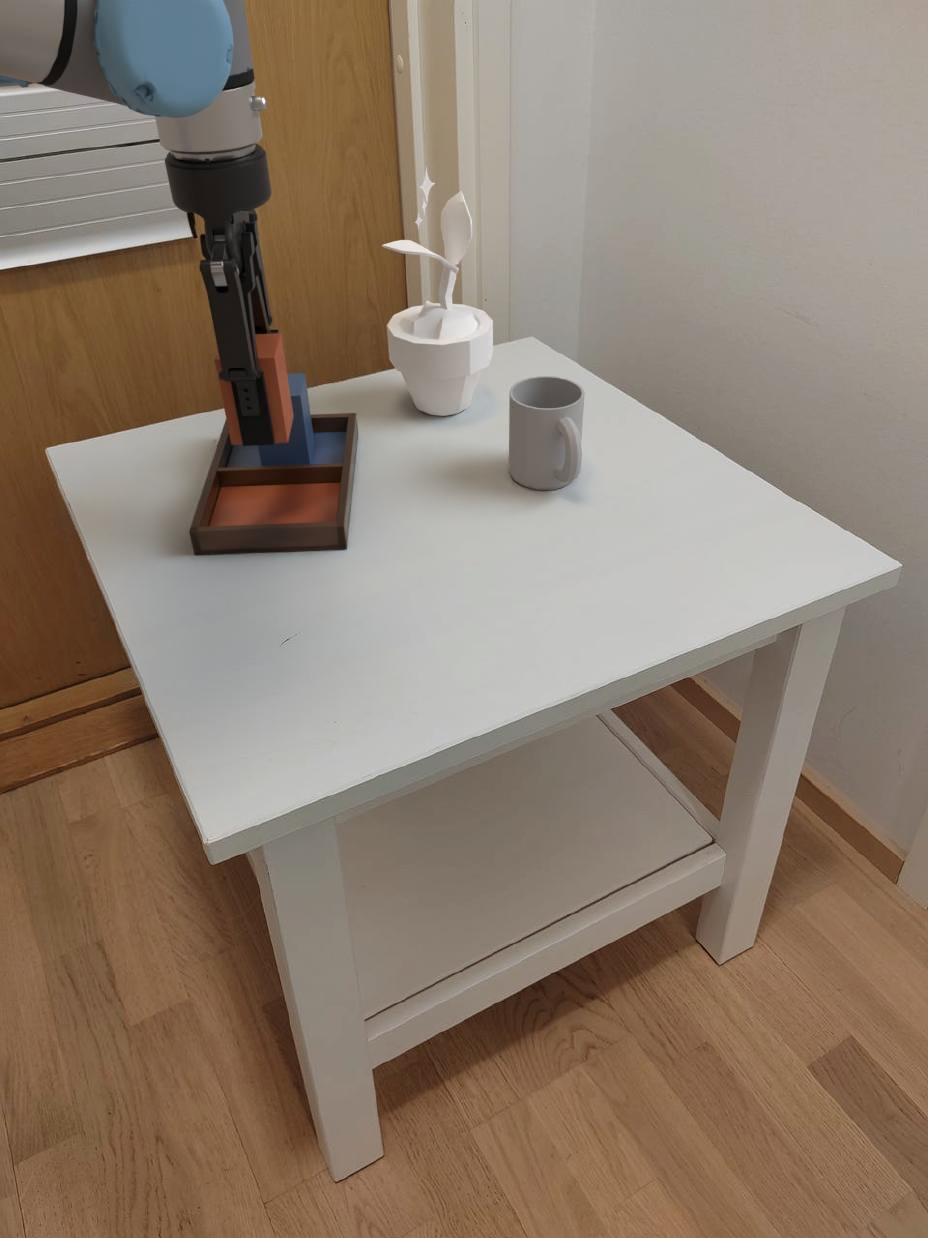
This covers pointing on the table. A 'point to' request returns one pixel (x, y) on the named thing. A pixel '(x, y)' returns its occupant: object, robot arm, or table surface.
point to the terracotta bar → (276, 389)
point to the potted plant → (441, 325)
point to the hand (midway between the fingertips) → (263, 427)
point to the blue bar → (293, 430)
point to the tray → (279, 495)
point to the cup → (545, 432)
